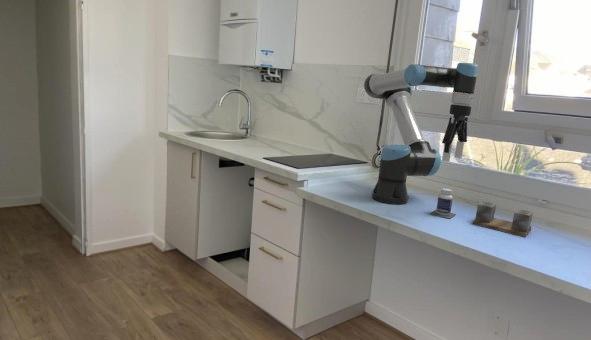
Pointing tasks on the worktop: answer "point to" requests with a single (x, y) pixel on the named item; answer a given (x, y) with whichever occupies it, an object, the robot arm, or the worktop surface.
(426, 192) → the worktop surface
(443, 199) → the pill bottle
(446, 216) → the pad
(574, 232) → the worktop surface
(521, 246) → the worktop surface
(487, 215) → the board with two blocks
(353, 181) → the worktop surface
